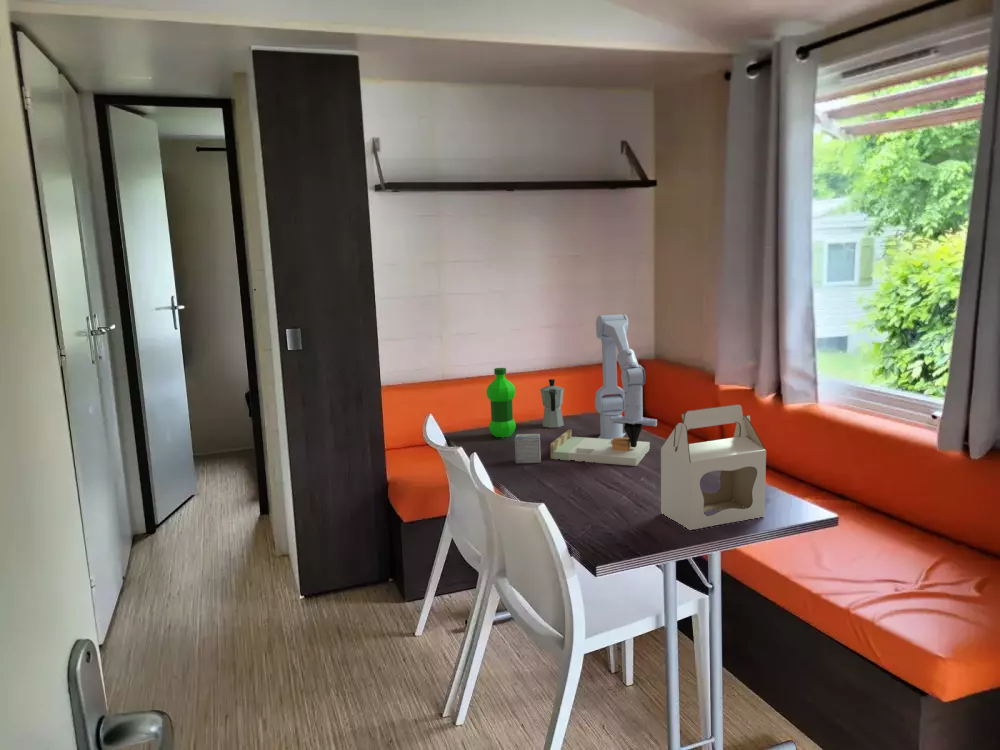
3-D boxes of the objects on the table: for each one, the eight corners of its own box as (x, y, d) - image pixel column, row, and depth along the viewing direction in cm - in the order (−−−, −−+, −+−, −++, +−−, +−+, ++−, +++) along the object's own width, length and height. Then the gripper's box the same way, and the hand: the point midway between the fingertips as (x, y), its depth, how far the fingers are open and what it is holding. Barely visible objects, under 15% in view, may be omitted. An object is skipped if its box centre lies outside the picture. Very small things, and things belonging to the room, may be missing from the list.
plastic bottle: (487, 440, 269) (484, 371, 264) (491, 432, 279) (488, 366, 275) (515, 440, 268) (512, 371, 263) (518, 432, 278) (515, 365, 273)
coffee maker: (541, 422, 292) (539, 376, 289) (563, 421, 292) (562, 375, 288) (542, 432, 277) (540, 384, 274) (566, 431, 277) (564, 383, 274)
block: (615, 445, 247) (615, 436, 246) (631, 446, 245) (630, 437, 244) (612, 449, 242) (612, 440, 242) (627, 450, 241) (627, 441, 240)
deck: (569, 443, 261) (568, 429, 260) (649, 449, 250) (649, 434, 249) (550, 458, 244) (550, 443, 243) (636, 466, 233) (636, 450, 232)
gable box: (733, 500, 200) (734, 397, 195) (765, 517, 188) (768, 408, 183) (659, 514, 193) (659, 407, 188) (688, 532, 181) (689, 418, 176)
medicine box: (541, 459, 244) (540, 433, 242) (540, 463, 240) (539, 437, 238) (516, 459, 245) (515, 433, 243) (515, 463, 240) (514, 437, 239)
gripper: (607, 406, 239) (608, 448, 241) (653, 409, 233) (653, 451, 235) (613, 401, 245) (614, 442, 247) (658, 404, 239) (658, 445, 242)
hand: (633, 446), depth 242 cm, fingers closed
